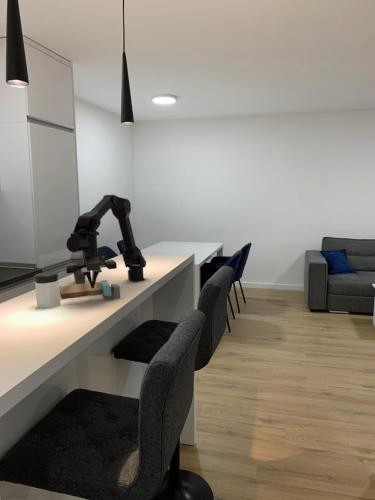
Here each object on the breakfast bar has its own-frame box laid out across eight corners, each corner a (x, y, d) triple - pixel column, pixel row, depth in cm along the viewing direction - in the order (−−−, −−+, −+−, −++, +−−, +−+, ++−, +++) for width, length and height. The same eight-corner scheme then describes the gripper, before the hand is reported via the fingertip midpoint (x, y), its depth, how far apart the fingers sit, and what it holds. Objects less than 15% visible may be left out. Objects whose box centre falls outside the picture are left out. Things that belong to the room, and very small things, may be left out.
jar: (62, 306, 149) (59, 274, 147) (38, 310, 145) (35, 277, 143) (58, 300, 157) (55, 270, 155) (36, 304, 153) (33, 273, 151)
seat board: (106, 285, 179) (106, 281, 179) (111, 292, 166) (111, 288, 166) (59, 291, 172) (59, 286, 172) (61, 299, 159) (61, 294, 159)
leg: (100, 286, 168) (100, 280, 168) (107, 285, 169) (107, 280, 168) (104, 295, 153) (103, 289, 153) (111, 294, 154) (111, 288, 153)
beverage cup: (84, 284, 182) (80, 241, 179) (69, 284, 184) (66, 241, 181) (91, 281, 189) (88, 239, 186) (76, 280, 191) (73, 239, 188)
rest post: (117, 294, 163) (116, 283, 162) (120, 298, 157) (119, 287, 157) (111, 295, 162) (110, 284, 161) (114, 299, 156) (113, 287, 156)
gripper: (66, 253, 142) (69, 296, 145) (118, 249, 149) (120, 289, 151) (63, 249, 153) (67, 289, 155) (112, 245, 159) (115, 283, 161)
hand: (92, 288), depth 155 cm, fingers closed
